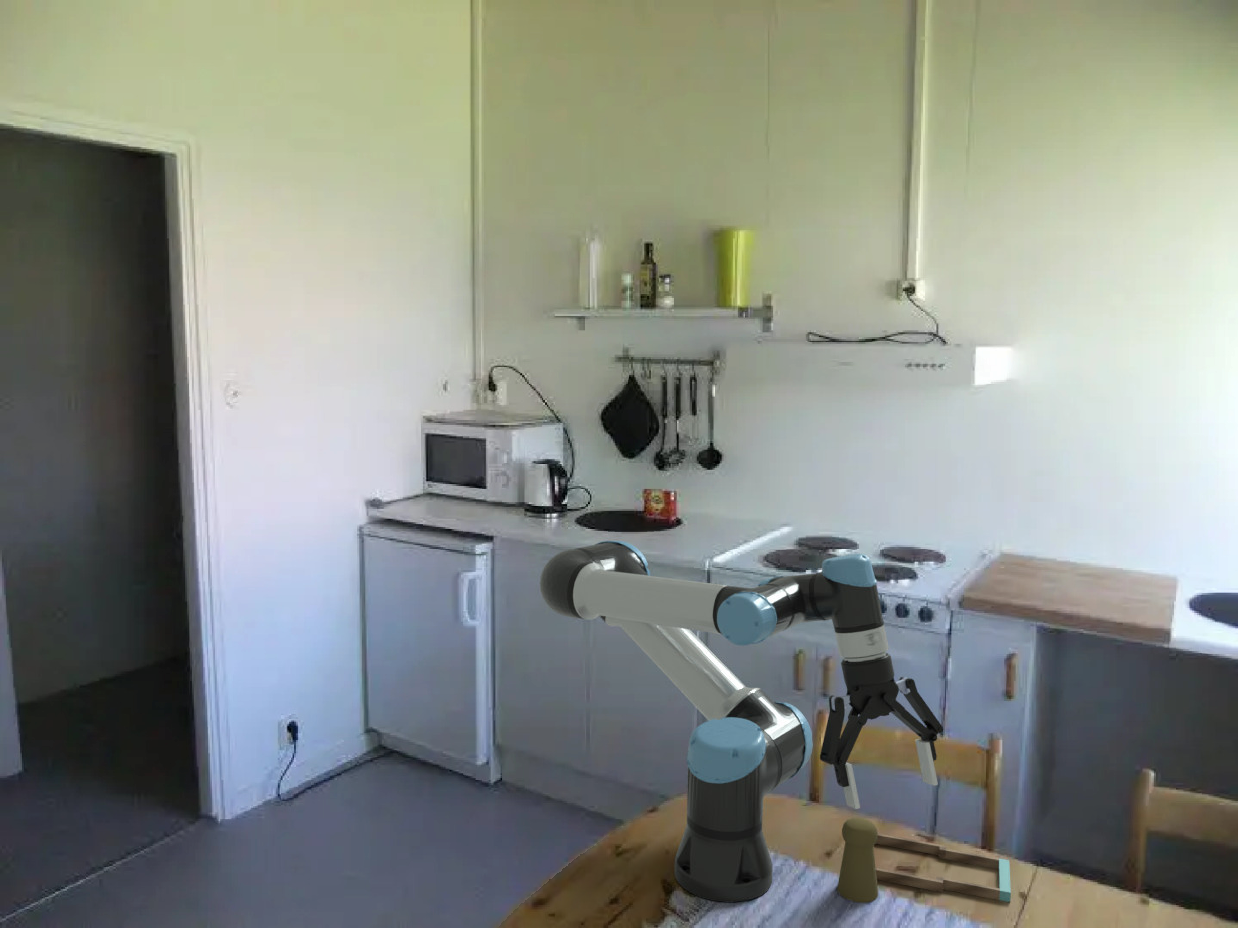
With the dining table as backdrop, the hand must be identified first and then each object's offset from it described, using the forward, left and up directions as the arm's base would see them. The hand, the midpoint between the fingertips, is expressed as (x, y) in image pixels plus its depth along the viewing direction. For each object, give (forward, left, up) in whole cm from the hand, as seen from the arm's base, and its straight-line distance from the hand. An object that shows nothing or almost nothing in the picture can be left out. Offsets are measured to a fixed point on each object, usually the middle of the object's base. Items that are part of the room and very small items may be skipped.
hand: (892, 795), depth 143 cm
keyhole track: (+6, +7, -14) cm, 17 cm away
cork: (-4, -3, -15) cm, 16 cm away
